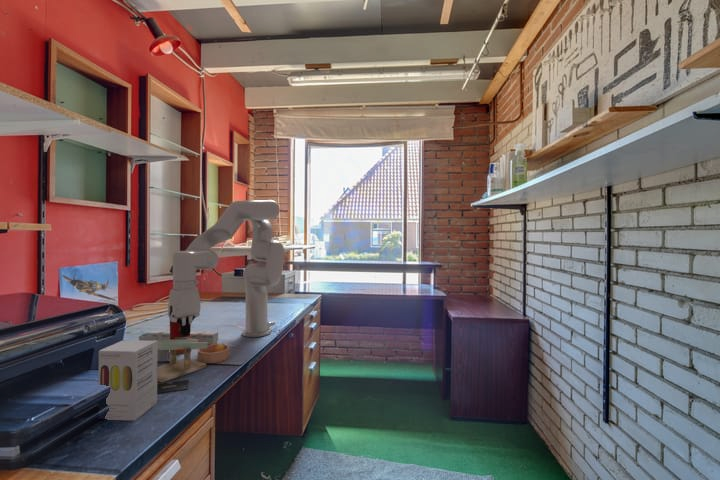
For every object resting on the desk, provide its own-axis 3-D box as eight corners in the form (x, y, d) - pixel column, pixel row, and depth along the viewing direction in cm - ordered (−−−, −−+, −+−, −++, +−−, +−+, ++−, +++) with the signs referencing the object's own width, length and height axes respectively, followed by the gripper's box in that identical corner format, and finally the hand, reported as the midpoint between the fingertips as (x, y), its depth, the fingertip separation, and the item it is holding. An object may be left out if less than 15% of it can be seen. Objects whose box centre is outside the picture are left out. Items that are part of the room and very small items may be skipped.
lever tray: (183, 351, 129) (186, 335, 130) (207, 359, 121) (211, 342, 122) (134, 353, 114) (138, 335, 115) (157, 362, 106) (162, 343, 107)
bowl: (217, 351, 133) (217, 342, 133) (235, 356, 128) (235, 347, 128) (191, 359, 125) (191, 349, 125) (209, 365, 119) (209, 355, 119)
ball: (221, 343, 131) (213, 344, 128) (227, 345, 129) (219, 345, 126) (220, 353, 131) (211, 354, 128) (226, 355, 129) (217, 356, 126)
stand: (187, 360, 124) (187, 337, 124) (206, 366, 118) (206, 343, 118) (142, 374, 111) (142, 349, 111) (161, 382, 105) (161, 356, 105)
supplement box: (96, 420, 84) (96, 350, 83) (122, 402, 93) (122, 339, 93) (135, 421, 83) (136, 351, 83) (158, 402, 93) (158, 339, 92)
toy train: (144, 341, 146) (144, 329, 146) (218, 343, 145) (218, 331, 145) (137, 344, 142) (137, 332, 142) (213, 346, 140) (213, 334, 140)
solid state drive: (151, 386, 103) (151, 384, 103) (189, 381, 107) (189, 379, 107) (147, 397, 97) (147, 394, 97) (187, 391, 100) (187, 388, 100)
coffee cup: (183, 355, 128) (184, 314, 129) (162, 353, 129) (163, 313, 130) (196, 348, 137) (197, 310, 137) (176, 347, 138) (177, 309, 138)
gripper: (197, 281, 135) (198, 328, 135) (158, 287, 122) (158, 338, 123) (209, 283, 131) (210, 331, 131) (169, 289, 118) (170, 342, 119)
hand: (185, 335), depth 127 cm, fingers closed
